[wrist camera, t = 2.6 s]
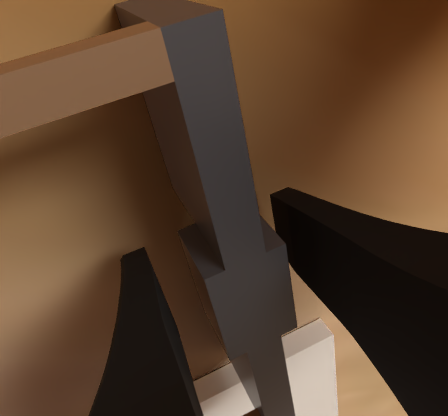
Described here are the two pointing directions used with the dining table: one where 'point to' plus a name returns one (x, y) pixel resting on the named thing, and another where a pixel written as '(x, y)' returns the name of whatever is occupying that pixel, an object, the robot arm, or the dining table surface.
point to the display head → (297, 372)
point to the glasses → (183, 165)
